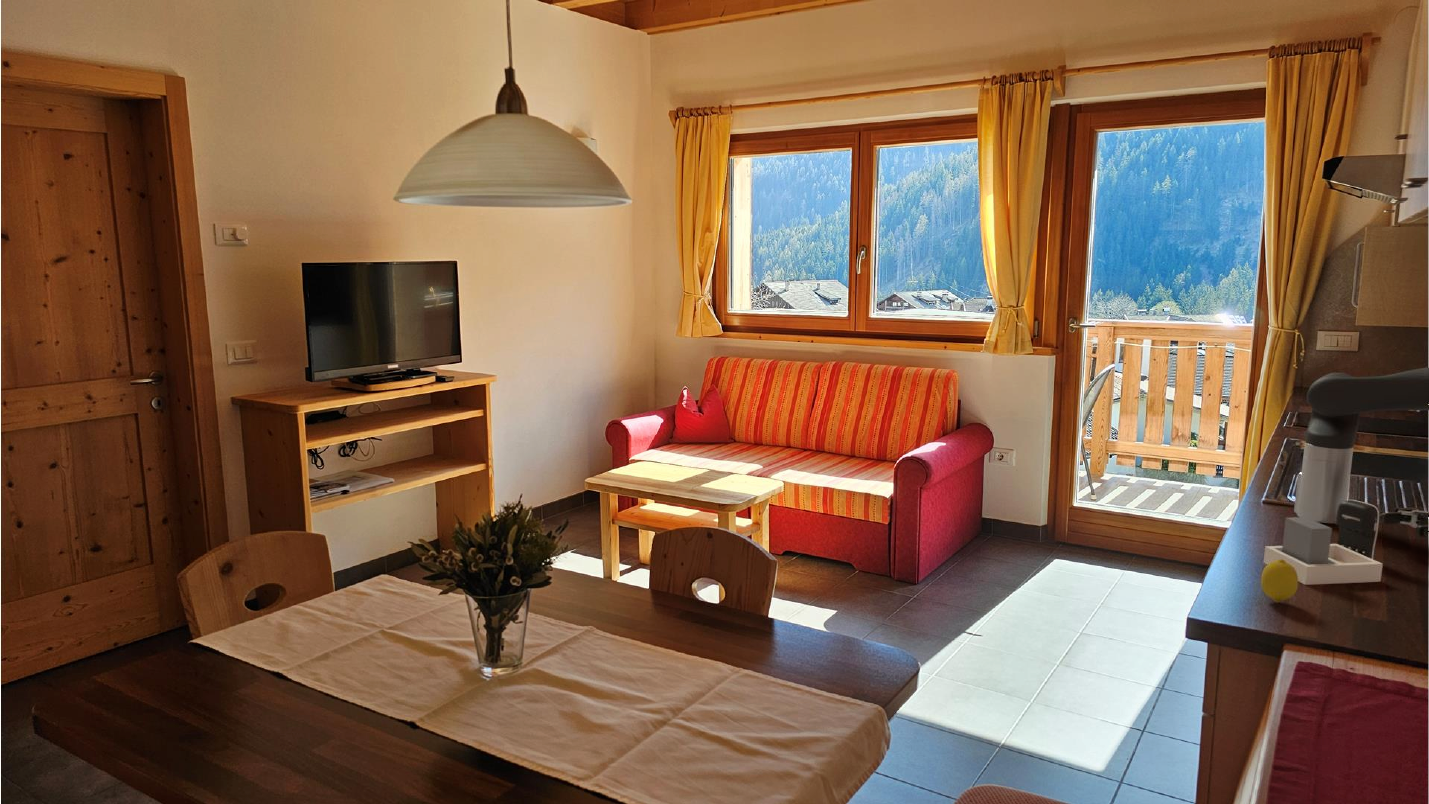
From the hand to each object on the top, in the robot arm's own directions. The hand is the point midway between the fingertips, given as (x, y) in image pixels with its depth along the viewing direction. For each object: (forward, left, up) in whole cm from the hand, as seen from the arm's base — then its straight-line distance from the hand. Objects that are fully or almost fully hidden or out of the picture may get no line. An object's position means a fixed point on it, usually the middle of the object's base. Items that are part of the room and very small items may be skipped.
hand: (1399, 524), depth 189 cm
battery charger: (0, -10, -7) cm, 12 cm away
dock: (+7, -22, -7) cm, 24 cm away
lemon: (+20, -41, -7) cm, 46 cm away
